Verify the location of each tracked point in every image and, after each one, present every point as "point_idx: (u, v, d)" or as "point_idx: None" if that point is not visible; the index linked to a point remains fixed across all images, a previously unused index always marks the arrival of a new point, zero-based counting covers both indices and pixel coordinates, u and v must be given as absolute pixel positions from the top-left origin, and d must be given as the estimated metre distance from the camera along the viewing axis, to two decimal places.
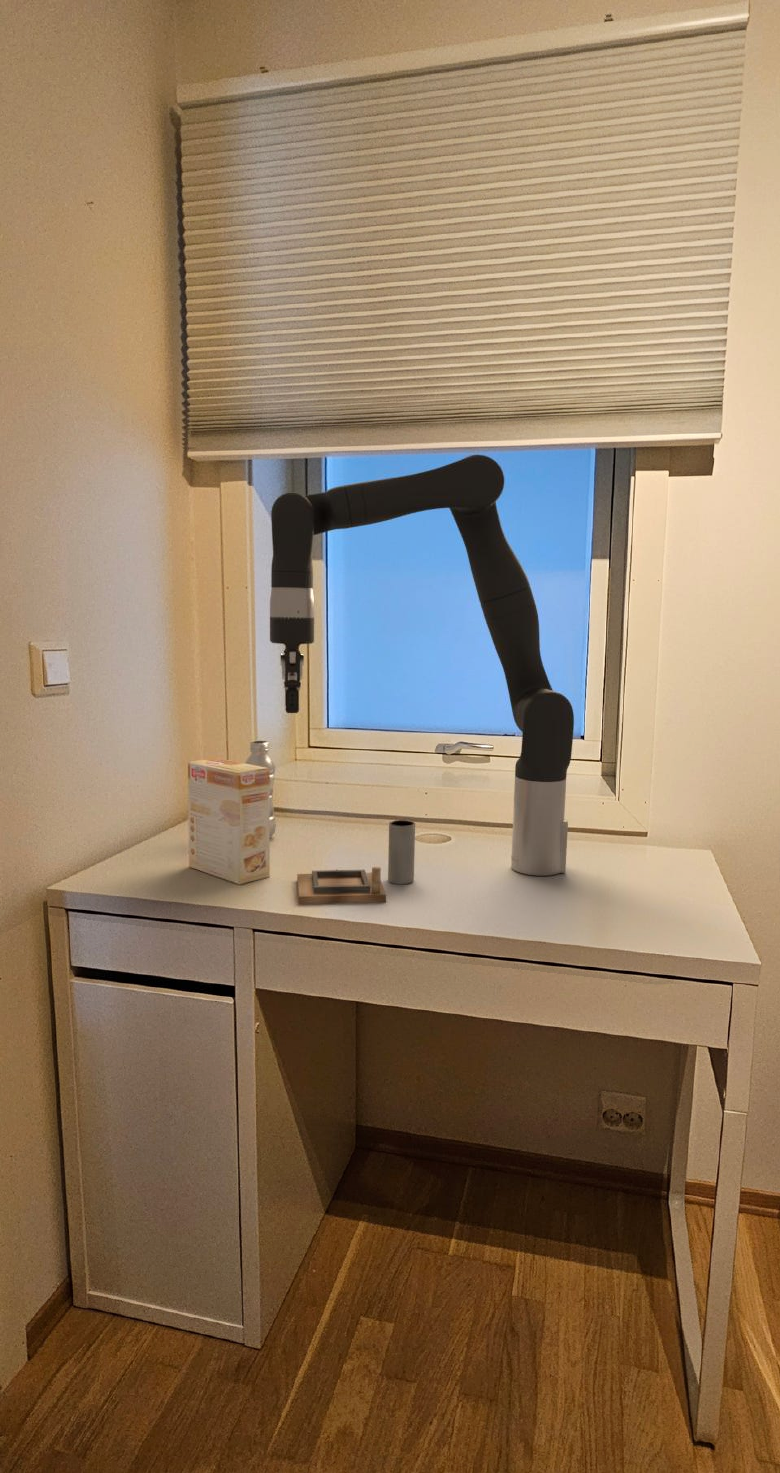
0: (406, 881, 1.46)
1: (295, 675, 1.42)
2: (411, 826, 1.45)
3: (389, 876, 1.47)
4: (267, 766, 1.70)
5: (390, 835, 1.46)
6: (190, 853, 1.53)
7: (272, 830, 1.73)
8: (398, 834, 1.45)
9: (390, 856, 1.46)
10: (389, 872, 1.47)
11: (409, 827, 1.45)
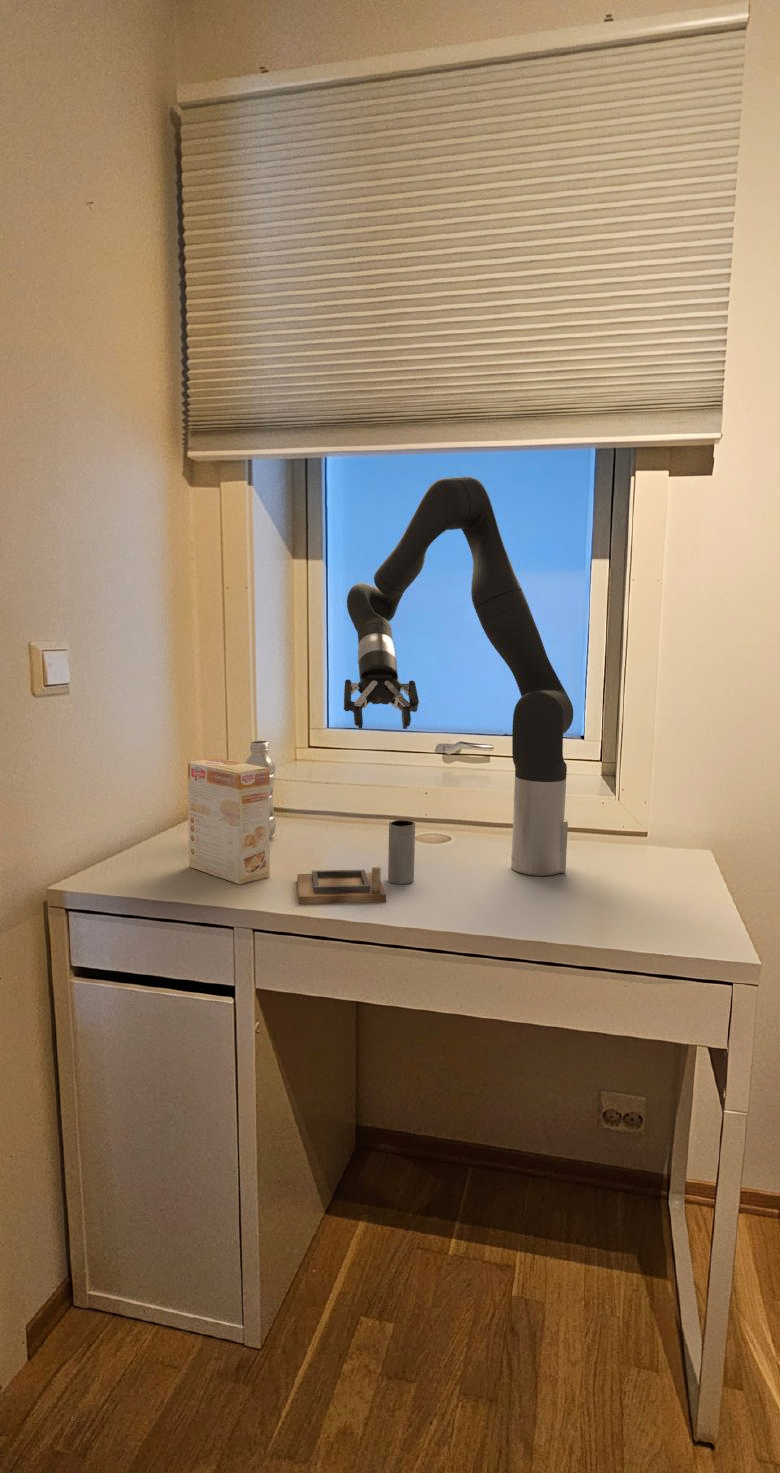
0: (406, 881, 1.46)
1: None
2: (411, 826, 1.45)
3: (389, 876, 1.47)
4: (268, 766, 1.70)
5: (390, 835, 1.46)
6: (190, 853, 1.53)
7: (272, 830, 1.73)
8: (398, 834, 1.45)
9: (390, 856, 1.46)
10: (389, 872, 1.47)
11: (409, 827, 1.45)
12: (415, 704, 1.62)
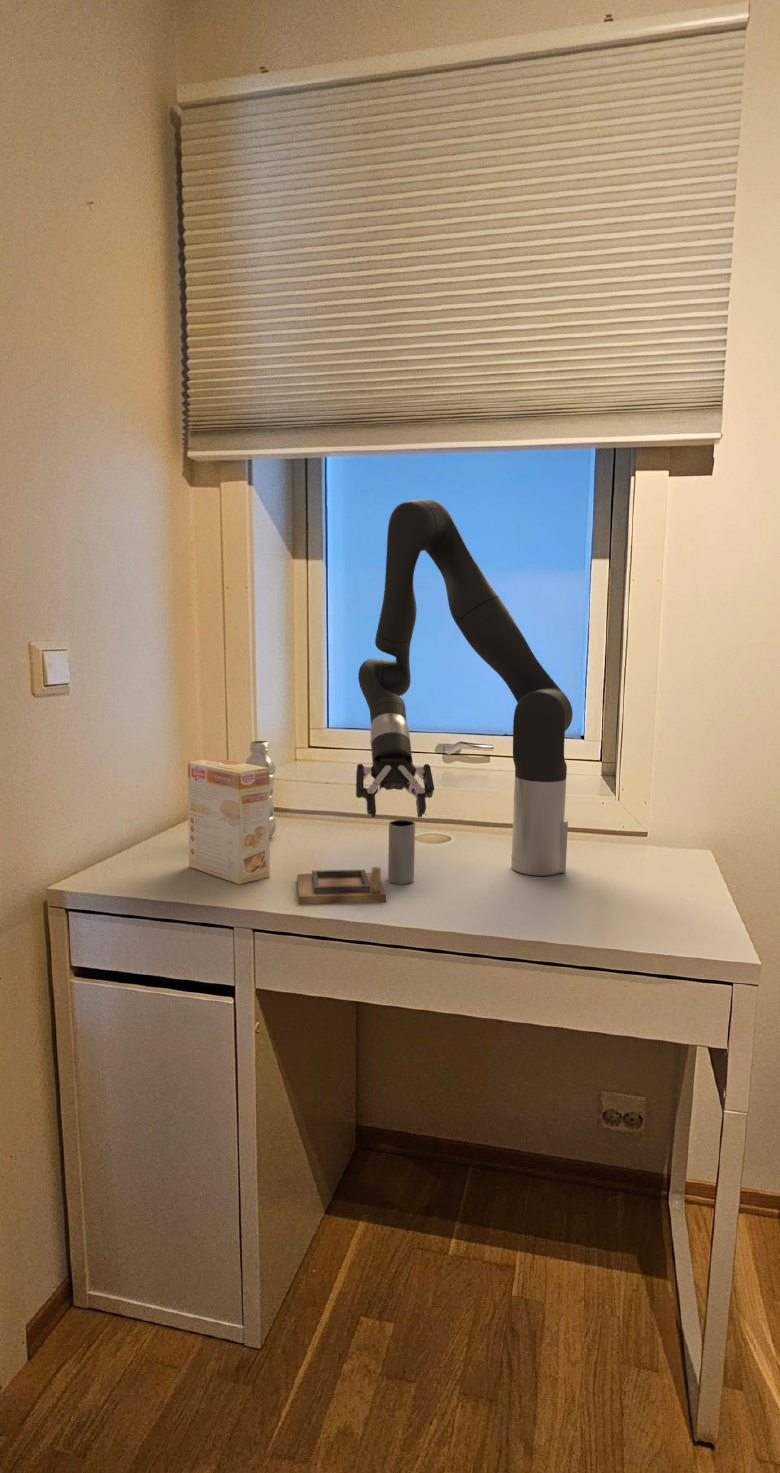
0: (406, 881, 1.46)
1: None
2: (411, 826, 1.45)
3: (389, 876, 1.47)
4: (267, 766, 1.70)
5: (390, 835, 1.46)
6: (190, 853, 1.53)
7: (272, 830, 1.73)
8: (398, 834, 1.45)
9: (390, 856, 1.46)
10: (389, 872, 1.47)
11: (409, 827, 1.45)
12: (430, 790, 1.55)
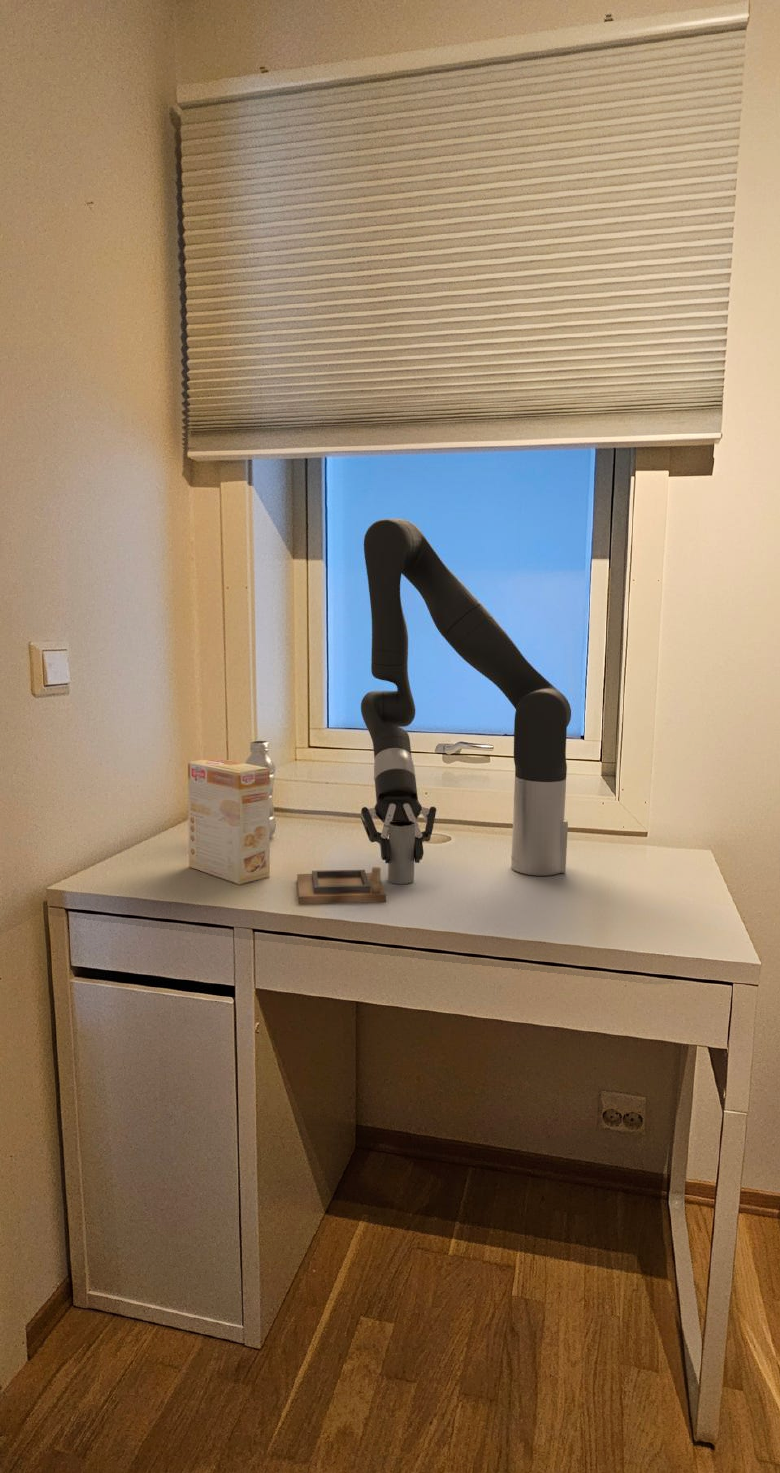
0: (406, 881, 1.46)
1: (383, 827, 1.49)
2: (411, 826, 1.45)
3: (389, 876, 1.47)
4: (267, 766, 1.70)
5: (390, 835, 1.46)
6: (190, 853, 1.53)
7: (272, 830, 1.73)
8: (398, 834, 1.45)
9: None
10: (389, 872, 1.47)
11: (409, 827, 1.45)
12: (427, 834, 1.48)
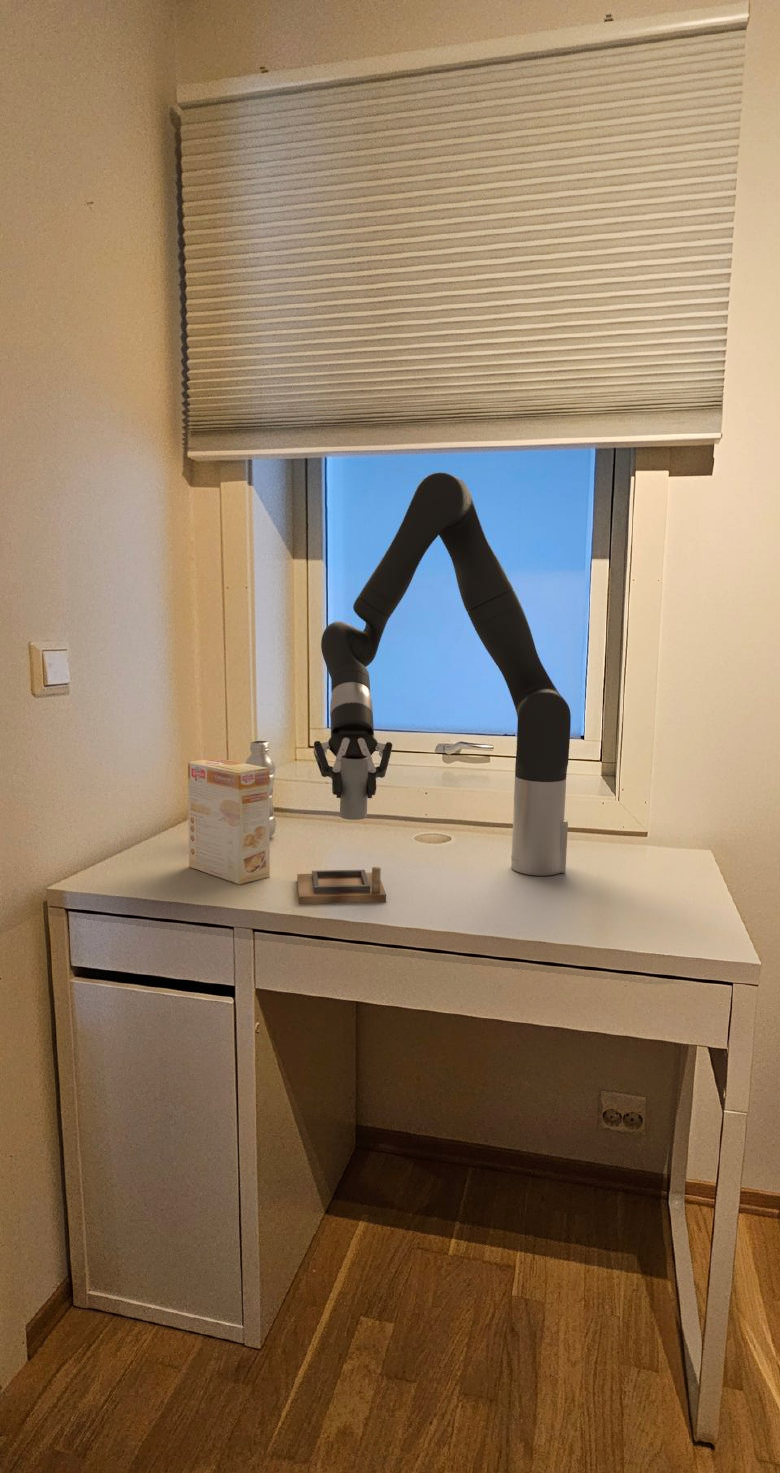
0: (358, 817, 1.40)
1: None
2: (363, 759, 1.39)
3: (341, 812, 1.41)
4: (267, 766, 1.70)
5: (342, 769, 1.40)
6: (190, 853, 1.53)
7: (272, 830, 1.73)
8: (350, 767, 1.39)
9: (342, 791, 1.41)
10: (341, 807, 1.41)
11: (361, 760, 1.39)
12: (381, 769, 1.42)
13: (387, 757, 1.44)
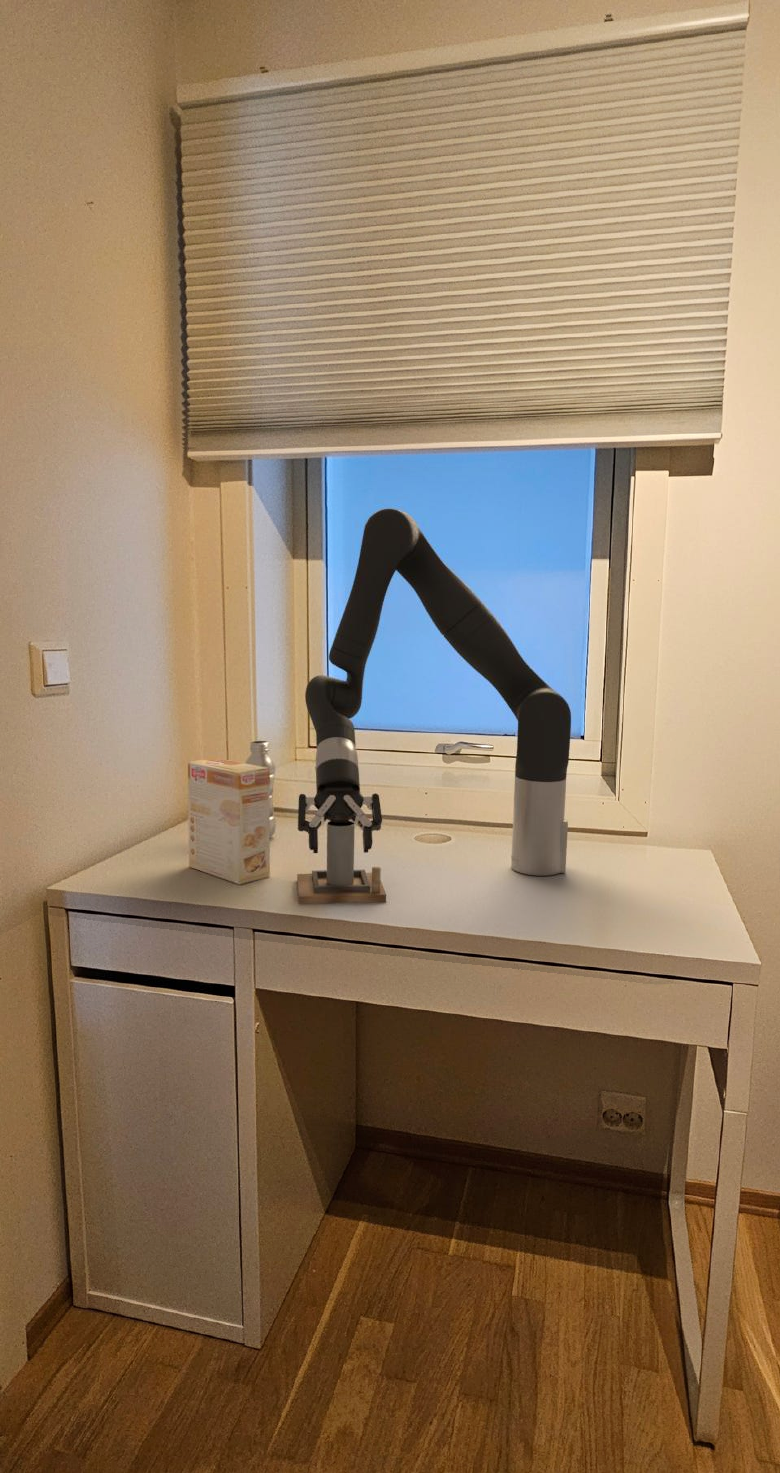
0: (345, 884, 1.40)
1: None
2: (349, 826, 1.39)
3: (327, 878, 1.41)
4: (268, 766, 1.70)
5: (328, 835, 1.40)
6: (190, 853, 1.53)
7: (272, 830, 1.73)
8: (336, 834, 1.39)
9: (328, 857, 1.40)
10: (327, 874, 1.41)
11: (347, 827, 1.39)
12: (378, 823, 1.42)
13: (379, 809, 1.44)
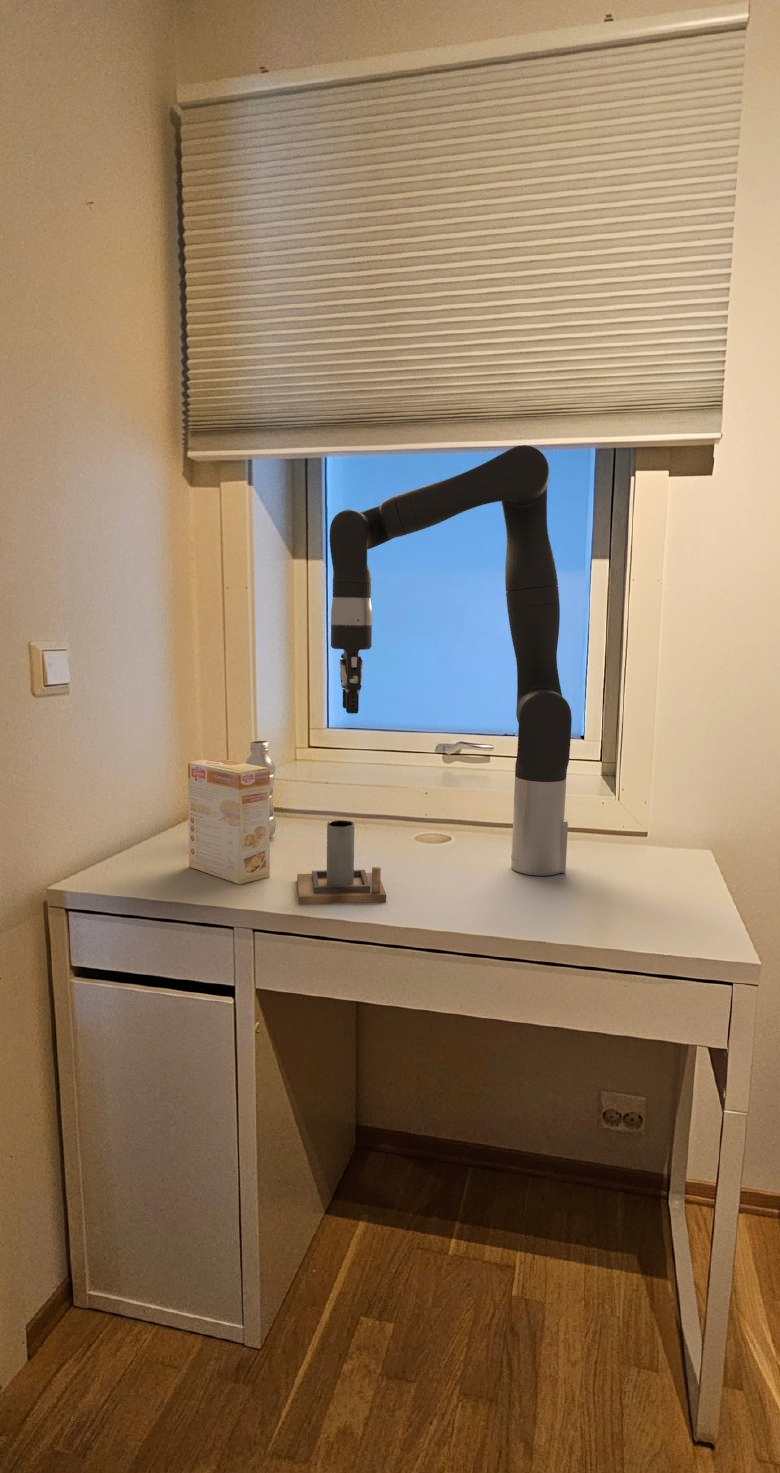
0: (345, 884, 1.40)
1: (355, 678, 1.53)
2: (349, 827, 1.39)
3: (327, 879, 1.41)
4: (268, 766, 1.70)
5: (328, 836, 1.40)
6: (190, 853, 1.53)
7: (272, 830, 1.73)
8: (336, 835, 1.39)
9: (328, 858, 1.40)
10: (327, 875, 1.41)
11: (347, 828, 1.39)
12: None
13: None
